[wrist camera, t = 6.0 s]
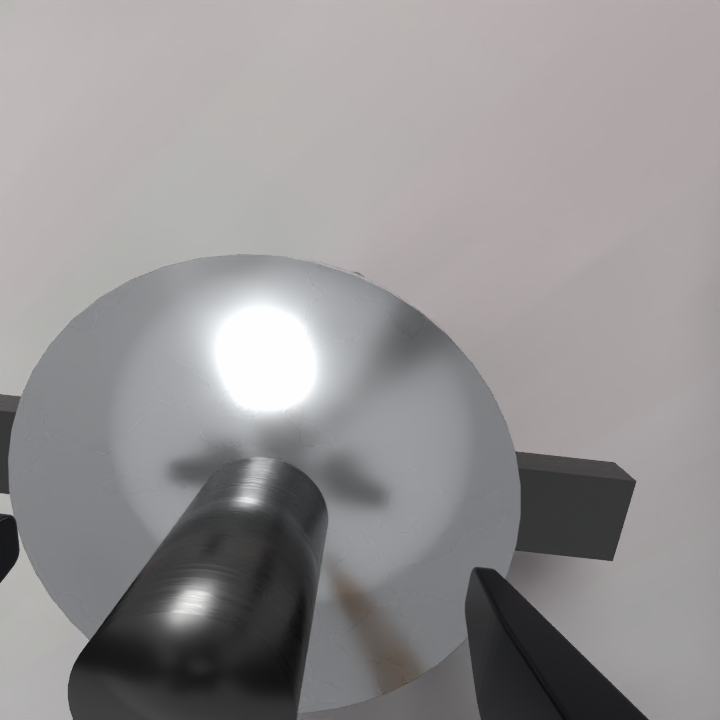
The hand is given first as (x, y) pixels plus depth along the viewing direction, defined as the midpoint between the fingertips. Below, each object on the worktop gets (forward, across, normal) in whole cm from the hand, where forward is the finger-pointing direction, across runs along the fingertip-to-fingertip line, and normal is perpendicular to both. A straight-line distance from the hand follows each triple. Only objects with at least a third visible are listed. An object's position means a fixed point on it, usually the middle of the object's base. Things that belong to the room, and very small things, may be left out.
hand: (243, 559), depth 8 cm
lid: (+2, 0, 0) cm, 2 cm away
